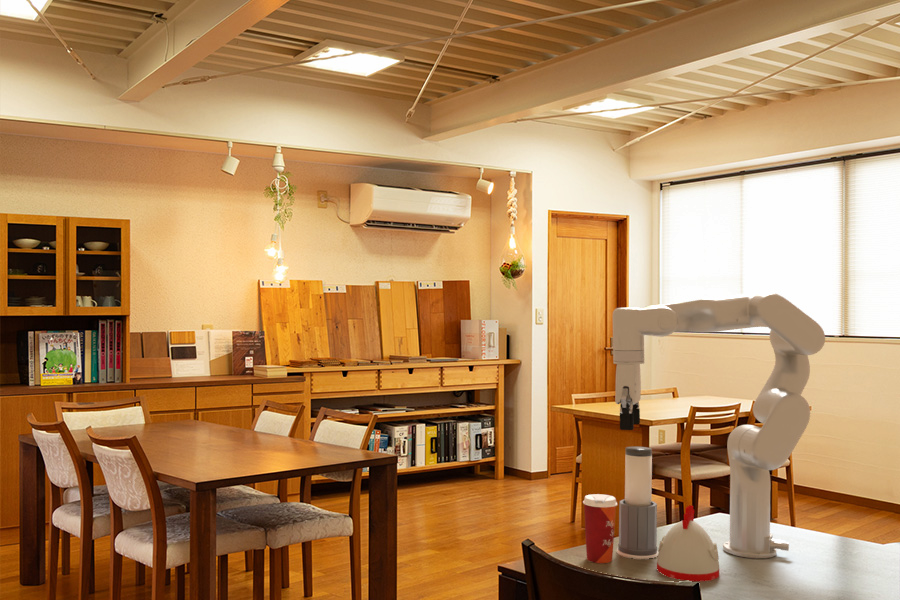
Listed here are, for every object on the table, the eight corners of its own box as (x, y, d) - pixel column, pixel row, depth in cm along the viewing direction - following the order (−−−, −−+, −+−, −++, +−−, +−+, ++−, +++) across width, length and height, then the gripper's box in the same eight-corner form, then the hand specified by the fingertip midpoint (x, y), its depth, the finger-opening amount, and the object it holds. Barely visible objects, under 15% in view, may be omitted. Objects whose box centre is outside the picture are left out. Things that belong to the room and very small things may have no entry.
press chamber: (662, 551, 208) (663, 501, 209) (652, 561, 200) (652, 509, 200) (623, 545, 213) (624, 496, 213) (611, 555, 204) (612, 504, 204)
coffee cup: (616, 566, 196) (617, 502, 196) (581, 563, 198) (582, 500, 198) (616, 555, 204) (617, 494, 204) (582, 553, 206) (583, 492, 206)
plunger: (654, 517, 208) (654, 448, 208) (647, 523, 202) (648, 451, 202) (628, 514, 211) (629, 445, 211) (621, 520, 205) (622, 449, 205)
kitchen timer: (724, 568, 195) (725, 504, 195) (712, 585, 183) (713, 517, 183) (665, 559, 202) (666, 497, 202) (649, 575, 190) (650, 509, 190)
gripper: (619, 355, 215) (621, 421, 215) (606, 359, 199) (608, 431, 199) (649, 355, 212) (650, 422, 212) (638, 360, 196) (640, 432, 196)
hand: (630, 426), depth 206 cm, fingers open, 9 cm apart
